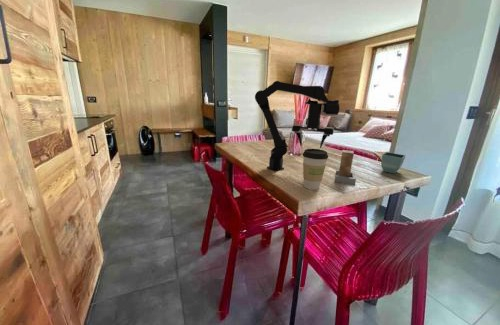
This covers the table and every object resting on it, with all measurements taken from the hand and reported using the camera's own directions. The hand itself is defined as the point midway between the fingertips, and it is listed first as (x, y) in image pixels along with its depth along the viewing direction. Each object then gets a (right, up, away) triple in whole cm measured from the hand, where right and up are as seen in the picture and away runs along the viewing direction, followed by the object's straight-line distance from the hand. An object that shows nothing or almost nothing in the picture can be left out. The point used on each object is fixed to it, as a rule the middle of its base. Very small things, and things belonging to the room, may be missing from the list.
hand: (310, 147), depth 106 cm
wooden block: (+13, -15, -7) cm, 21 cm away
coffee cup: (-4, -18, -16) cm, 25 cm away
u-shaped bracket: (+13, -15, -7) cm, 21 cm away
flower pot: (+43, -12, +6) cm, 45 cm away
